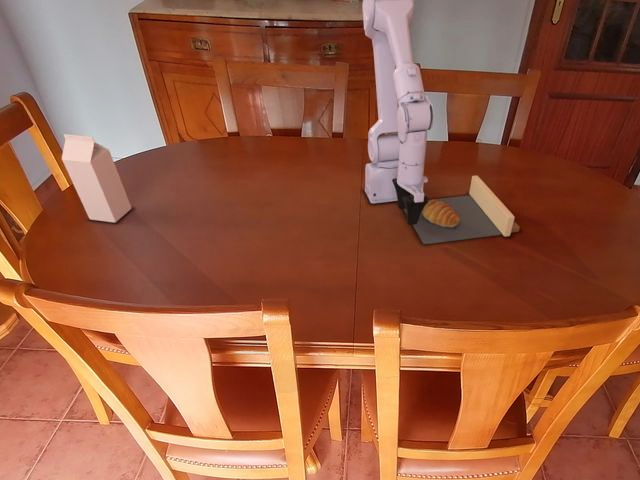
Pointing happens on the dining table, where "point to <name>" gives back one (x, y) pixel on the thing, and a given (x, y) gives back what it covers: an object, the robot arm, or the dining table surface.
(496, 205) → the back board
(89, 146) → the milk carton
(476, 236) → the placemat
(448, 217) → the pastry
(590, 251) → the dining table surface
